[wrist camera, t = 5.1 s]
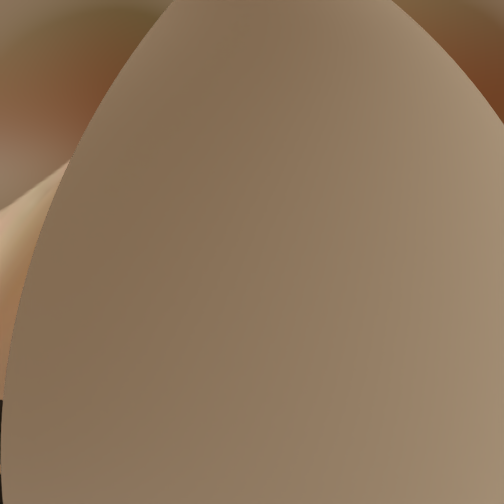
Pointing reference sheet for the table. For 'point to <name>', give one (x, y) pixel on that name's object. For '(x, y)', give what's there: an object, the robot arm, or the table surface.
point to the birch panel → (269, 274)
